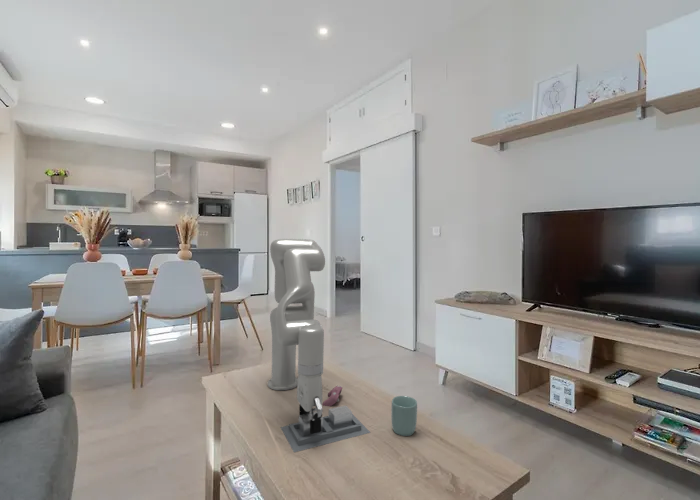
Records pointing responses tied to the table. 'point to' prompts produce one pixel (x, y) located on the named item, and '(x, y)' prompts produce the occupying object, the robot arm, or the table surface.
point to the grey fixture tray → (322, 434)
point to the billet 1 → (307, 425)
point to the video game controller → (333, 396)
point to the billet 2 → (340, 417)
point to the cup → (404, 415)
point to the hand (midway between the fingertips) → (309, 424)
